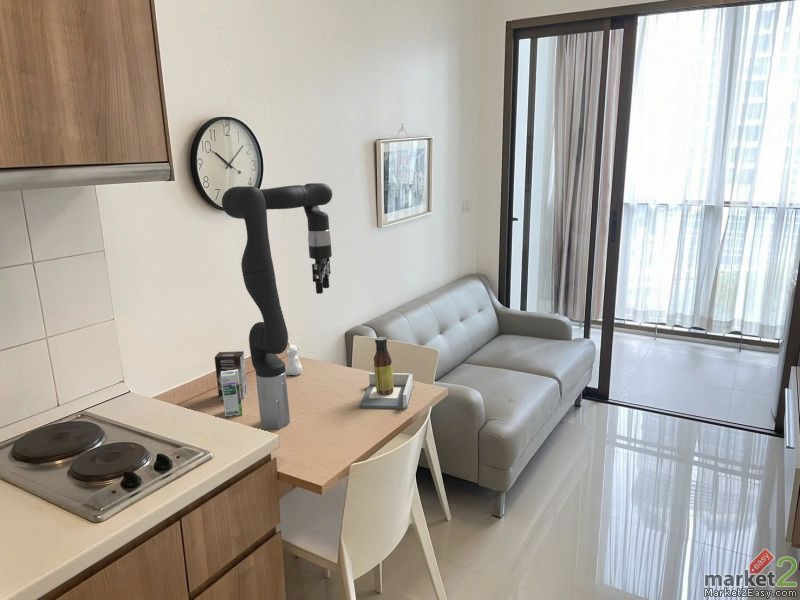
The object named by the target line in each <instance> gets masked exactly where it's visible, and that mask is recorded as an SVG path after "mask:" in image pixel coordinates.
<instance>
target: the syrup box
mask: <svg viewBox="0 0 800 600" xmlns="http://www.w3.org/2000/svg"><path fill="white" fill-rule="evenodd" d="M221 385H222V393H223V400H222V401H223V406H224V407H223V409H224V417H225V416H229V417H233V416H232V415H236V416H243V413H244V412H243V403H242V399H241V392H240V383H239V374H238V369H236V370H229V371H221Z"/></svg>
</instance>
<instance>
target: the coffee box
mask: <svg viewBox="0 0 800 600" xmlns="http://www.w3.org/2000/svg"><path fill="white" fill-rule="evenodd" d="M245 363H246V362H245V354H244V351H243V350H241V351H240V350H239V351H219V352H217V354H216V355H215V356H214V366H215V373H216V383H217V393H218V401H219V400H222V401H223V393H222V385H221V371H229V370H236V369H238V374H239V383H240V392H241V400H242V399H243V400H244V399H245V398H246V395H247V394H248V387H247V377H246V365H245Z"/></svg>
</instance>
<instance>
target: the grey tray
mask: <svg viewBox="0 0 800 600" xmlns="http://www.w3.org/2000/svg"><path fill="white" fill-rule="evenodd" d="M368 379H369V385H368V387H367V389H366V391H365V393H364V396H363V397H362V399H361V402H360V404H359V409H388V410H389V409H391V408H394V409H396V410H398V409H400V410H401V409H403V410H407V409H408V408H409V407H408V406H409V403H410V400H411V396H412V393H411V392H413V390H412V389H413V388H414V373H413V372H411V373H407V372H393V385H394V387H393V392H392V393H391V394H388V395H380V394H378V393H377V389H376V382H375V372H369V373H368ZM391 410H392V409H391Z"/></svg>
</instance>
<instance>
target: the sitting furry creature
mask: <svg viewBox="0 0 800 600" xmlns="http://www.w3.org/2000/svg"><path fill="white" fill-rule="evenodd" d="M287 347H288V348H286V353H285V354H286V355H287V362H286V363H287V364H286V365H287V366H286V367H285V369H286V376H289V375H296V376H299V375H301V374H302V373H303V366H302V364H301V362H300V357H299V356H298V352H299V350H301V346H300V345H297V346H296V345H295V344H291V345H289V346H288V345H287ZM300 373H301V374H300ZM298 374H299V375H298Z"/></svg>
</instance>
